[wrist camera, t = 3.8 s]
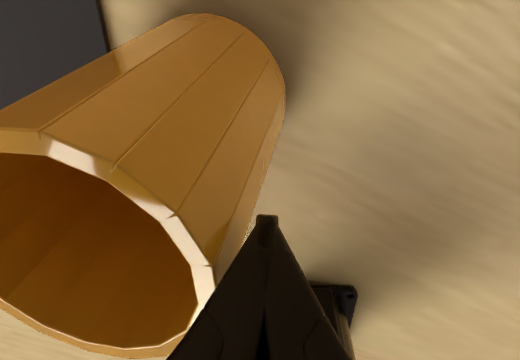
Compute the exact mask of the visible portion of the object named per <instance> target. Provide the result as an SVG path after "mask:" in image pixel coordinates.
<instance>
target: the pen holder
mask: <svg viewBox="0 0 520 360" xmlns="http://www.w3.org/2000/svg"><path fill="white" fill-rule="evenodd" d="M285 108H286V90H285V85H284V80H283V77H282V74H281V71H280V68H279V66H278V64H277V62H276V60H275V58H274V57H273V55H272V54H271V52H270V50H269V49H268V48H267V47H266V45H265V44H264V43H263V42H262V41H261V40H260V39H259V38H258V37H257V36H256V35H255V34H254V33H253V32H251V31H250V30H248V29H247V28H245V27H244V26H242V25H241V24H239V23H237V22H235V21H233V20H230V19H228V18H225V17H222V16H218V15H213V14H205V13H195V14H187V15H182V16H178V17H176V18H173V19H171V20H169V21H167V22H165V23H163V24H161V25H159V26H157V27H155V28H153V29H152V30H150V31H148V32H146V33H144V34H142V35H140V36H138V37H136V38H134V39H132V40H130V41H129V42H127V43H125V44H123V45H121V46H119V47H117V48H115V49H113V50H111V51H110V52H108V53H106V54H104V55H102V56H100V57H98V58H96V59H94V60H92V61H91V62H89V63H87V64H85V65H83V66H81V67H79V68H77V69H75V70H73V71H72V72H70V73H68V74H66V75H64V76H62V77H60V78H58V79H56V80H54V81H53V82H51V83H49V84H47V85H45V86H43V87H41V88H39V89H37V90H35V91H33V92H32V93H30V94H28V95H26V96H24V97H22V98H20V99H18V100H16V101H14V102H13V103H11V104H9V105H7V106H5V107H3V108H1V109H0V308H1V309H2V310H4V311H6V312H7V313H9V314H11V315H12V316H14V317H16V318H17V319H19V320H20V321H22V322H24V323H25V324H27V325H29V326H30V327H32V328H34V329H35V330H37V331H39V332H42V333H43V334H45V335H48V336H51V337H53V338H56V339H58V340H61V341H63V342H66V343H68V344H71V345H73V346H76V347H79V348H81V349H84V350H87V351H89V352H95V353H100V354H106V355H111V356H117V357H122V358H127V359H139V358H152V357H165V356H169V355H170V354H171V353H172V351H173V350H174V349H175V348H176V346H177V345H178V344H179V342H180V341H181V340H182V338H183V337H184V336H185V334H186V333H187V331H188V330H189V328H190V327H191V325H192V324H193V322H194V321H195V319H196V318H197V316H198V315H199V313H200V312H201V310H202V309H204V306H205V304H206V302H207V301H208V299H209V298H210V296H211V295H212V293H213V291H214V290H215V288H216V287H217V285H218V284H219V282H220V280H221V279H222V277H223V276H224V274H225V273H226V271H227V269H228V268H229V266H230V265H231V263H232V262H233V260H234V258H235V257H236V255H237V254H238V252H239V251H240V249H241V246H242V243H243V240H244V237H245V234H246V231H247V228H248V225H249V222H250V219H251V216H252V213H253V210H254V207H255V204H256V201H257V198H258V195H259V193H260V190H261V187H262V184H263V181H264V178H265V175H266V172H267V169H268V166H269V163H270V160H271V157H272V154H273V151H274V148H275V145H276V142H277V139H278V136H279V133H280V130H281V127H282V124H283V118H284V113H285Z"/></svg>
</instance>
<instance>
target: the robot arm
mask: <svg viewBox="0 0 520 360" xmlns="http://www.w3.org/2000/svg"><path fill="white" fill-rule="evenodd" d="M357 297H358V294H357V290H356V289H355V288H354V287H336V286H310V284H309V282H308V280H307V279H306V277H305V275H304V273H303V271H302V269H301V267H300V265H299V264H298V262H297V260H296V258H295V256H294V254H293V252H292V251H291V249H290V247H289V245H288V243H287V241H286V239H285V237H284V236H283V234H282V232H281V230H280V228H279V226H278V216H276V215H260V214H259V215H257V217H256V226H255V227H254V229H253V230H252V232H251V233H250V235H249V237H248V238H247V240H246V241H245V243H244V244H243V246H242V247H241V249H240V251H239V252H238V254H237V255H236V257H235V258H234V260H233V262H232V263H231V265H230V266H229V268H228V269H227V271H226V273H225V274H224V276H223V277H222V279H221V280H220V282H219V284H218V285H217V287H216V288H215V290H214V291H213V293H212V295H211V296H210V298H209V299H208V301H207V302H206V304H205V306H204V309H202V310H201V312H200V313H199V315H198V316H197V318H196V319H195V321H194V322H193V324H192V325H191V327H190V328H189V330H188V331H187V333H186V334H185V336H184V337H183V338H182V340H181V341H180V342H179V344H178V345H177V346H176V348H175V349H174V350H173V351H172V353H171V354H170V355H169V357H168V358H167V359H166V360H355V355H354V350H353V345H352V341H351V336H350V331H349V329H350V325H351V321H352V317H353V313H354V309H355V305H356V301H357Z"/></svg>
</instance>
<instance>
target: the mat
mask: <svg viewBox="0 0 520 360" xmlns="http://www.w3.org/2000/svg"><path fill="white" fill-rule="evenodd" d="M108 52H110V48H109V43H108V39H107V34H106V29H105V24H104V20H103V15H102V10H101V5H100V1H99V0H0V109H1V108H3V107H5V106H7V105H9V104H11V103H13V102H14V101H16V100H18V99H20V98H22V97H24V96H26V95H28V94H30V93H32V92H33V91H35V90H37V89H39V88H41V87H43V86H45V85H47V84H49V83H51V82H53V81H54V80H56V79H58V78H60V77H62V76H64V75H66V74H68V73H70V72H72V71H73V70H75V69H77V68H79V67H81V66H83V65H85V64H87V63H89V62H91V61H92V60H94V59H96V58H98V57H100V56H102V55H104V54H106V53H108Z"/></svg>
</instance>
